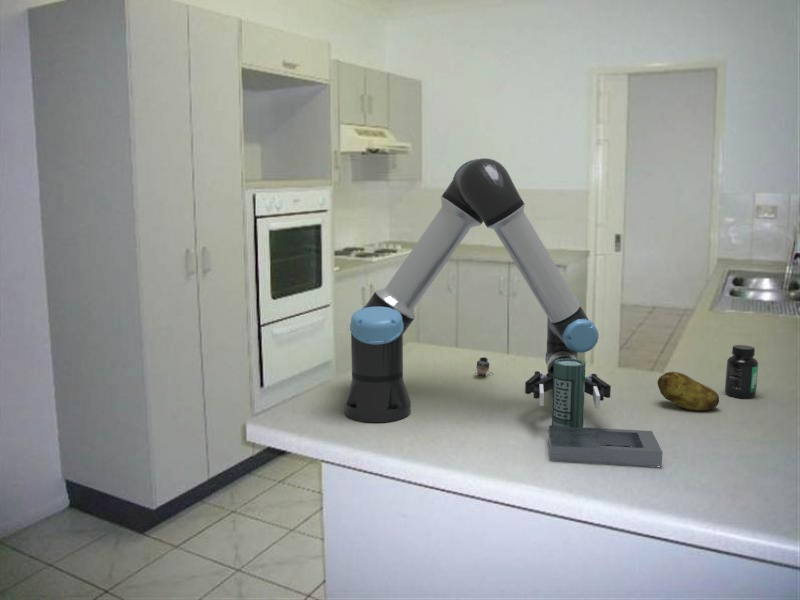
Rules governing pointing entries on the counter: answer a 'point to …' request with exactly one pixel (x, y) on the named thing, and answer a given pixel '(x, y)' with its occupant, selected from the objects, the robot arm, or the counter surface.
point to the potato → (687, 392)
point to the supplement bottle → (741, 373)
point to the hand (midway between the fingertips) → (569, 400)
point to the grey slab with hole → (587, 449)
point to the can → (568, 392)
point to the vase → (483, 367)
